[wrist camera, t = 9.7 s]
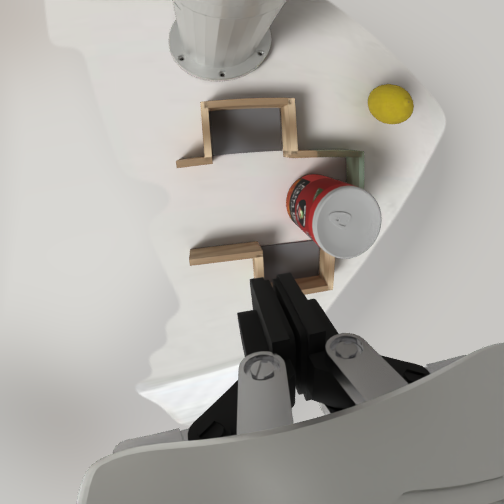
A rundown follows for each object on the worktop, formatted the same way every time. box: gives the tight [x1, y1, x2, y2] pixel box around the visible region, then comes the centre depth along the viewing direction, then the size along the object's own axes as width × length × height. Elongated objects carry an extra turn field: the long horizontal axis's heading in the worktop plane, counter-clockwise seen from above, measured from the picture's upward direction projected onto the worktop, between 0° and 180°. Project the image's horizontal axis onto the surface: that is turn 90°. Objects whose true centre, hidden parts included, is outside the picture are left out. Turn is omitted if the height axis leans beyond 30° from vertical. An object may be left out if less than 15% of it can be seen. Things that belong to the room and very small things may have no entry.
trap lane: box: [176, 98, 364, 295], centre depth 34 cm, size 25×23×4 cm
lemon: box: [368, 84, 414, 124], centre depth 29 cm, size 6×6×8 cm
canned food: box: [286, 174, 381, 259], centre depth 32 cm, size 8×8×11 cm
